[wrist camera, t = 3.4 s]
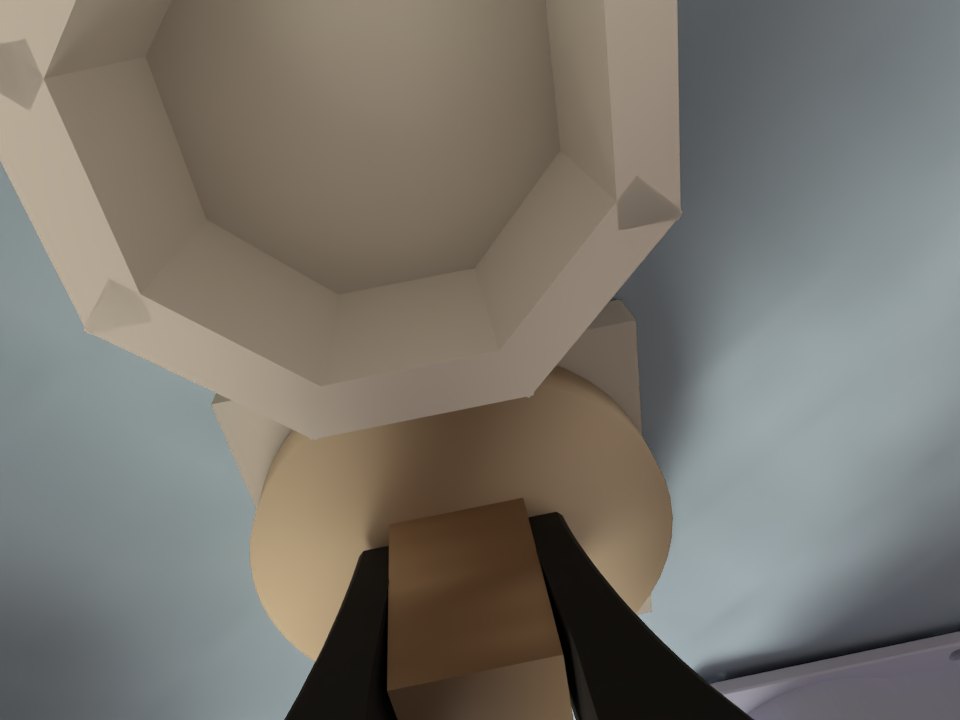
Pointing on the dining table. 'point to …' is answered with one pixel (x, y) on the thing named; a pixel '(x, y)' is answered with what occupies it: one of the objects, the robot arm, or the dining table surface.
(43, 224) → the bowl
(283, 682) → the dining table surface
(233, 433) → the cream block
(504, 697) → the lid
